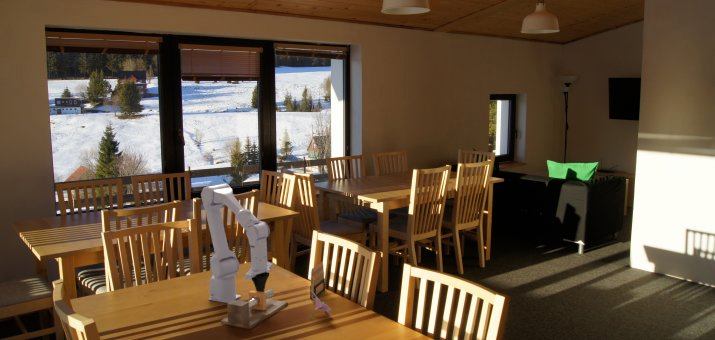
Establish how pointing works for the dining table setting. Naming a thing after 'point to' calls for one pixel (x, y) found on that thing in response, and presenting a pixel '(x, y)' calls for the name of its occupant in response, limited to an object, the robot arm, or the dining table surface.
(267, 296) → the pipe
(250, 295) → the collar
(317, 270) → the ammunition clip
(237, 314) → the pipe board
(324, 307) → the lily
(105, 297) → the dining table surface
